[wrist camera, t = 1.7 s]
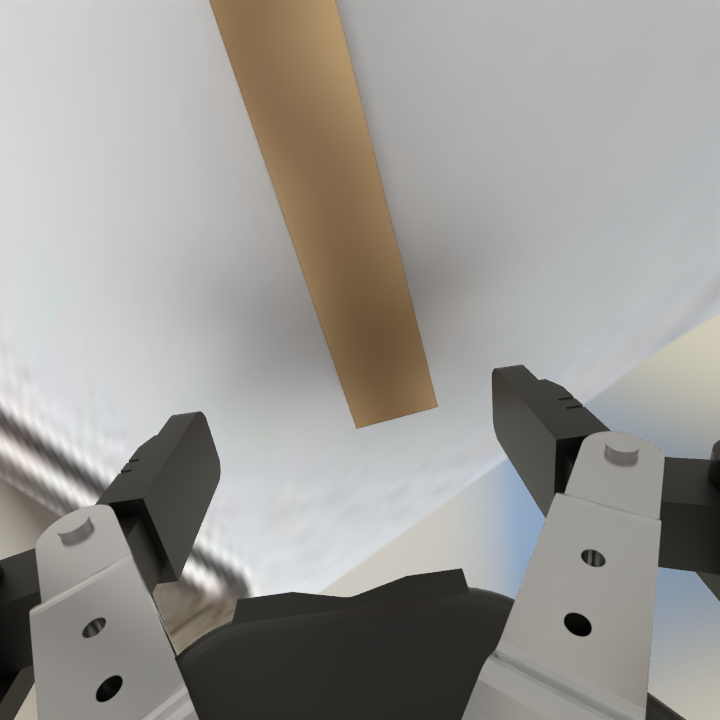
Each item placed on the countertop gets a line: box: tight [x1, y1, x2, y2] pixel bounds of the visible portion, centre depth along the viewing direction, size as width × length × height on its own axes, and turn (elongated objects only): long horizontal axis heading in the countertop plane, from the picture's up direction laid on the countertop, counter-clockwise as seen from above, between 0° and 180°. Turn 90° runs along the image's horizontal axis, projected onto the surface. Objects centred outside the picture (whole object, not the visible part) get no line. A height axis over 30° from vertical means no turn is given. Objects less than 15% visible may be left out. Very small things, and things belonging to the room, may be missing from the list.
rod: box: [209, 0, 438, 429], centre depth 16 cm, size 4×17×4 cm, turn 16°
